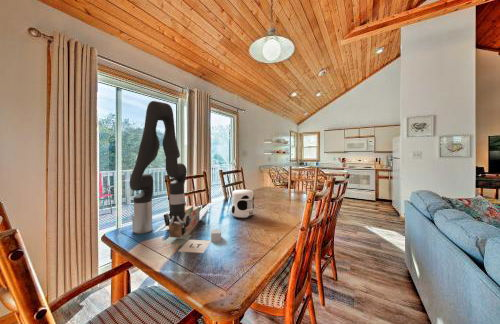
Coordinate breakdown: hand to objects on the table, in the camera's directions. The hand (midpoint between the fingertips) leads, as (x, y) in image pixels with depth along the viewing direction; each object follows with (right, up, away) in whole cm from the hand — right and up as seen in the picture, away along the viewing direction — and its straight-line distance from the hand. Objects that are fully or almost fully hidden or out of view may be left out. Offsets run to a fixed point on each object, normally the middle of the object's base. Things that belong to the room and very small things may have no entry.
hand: (177, 233), depth 102 cm
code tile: (+11, -4, -7) cm, 14 cm away
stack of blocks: (-1, -3, +21) cm, 21 cm away
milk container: (+33, -2, +39) cm, 51 cm away
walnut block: (0, -1, 0) cm, 1 cm away
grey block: (+20, -4, +1) cm, 20 cm away
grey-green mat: (0, -3, 0) cm, 3 cm away
